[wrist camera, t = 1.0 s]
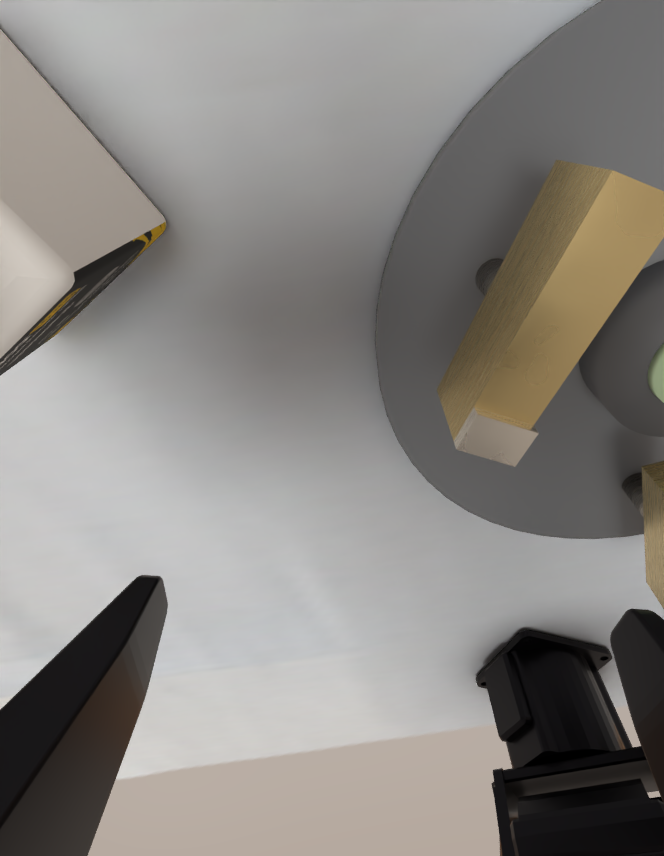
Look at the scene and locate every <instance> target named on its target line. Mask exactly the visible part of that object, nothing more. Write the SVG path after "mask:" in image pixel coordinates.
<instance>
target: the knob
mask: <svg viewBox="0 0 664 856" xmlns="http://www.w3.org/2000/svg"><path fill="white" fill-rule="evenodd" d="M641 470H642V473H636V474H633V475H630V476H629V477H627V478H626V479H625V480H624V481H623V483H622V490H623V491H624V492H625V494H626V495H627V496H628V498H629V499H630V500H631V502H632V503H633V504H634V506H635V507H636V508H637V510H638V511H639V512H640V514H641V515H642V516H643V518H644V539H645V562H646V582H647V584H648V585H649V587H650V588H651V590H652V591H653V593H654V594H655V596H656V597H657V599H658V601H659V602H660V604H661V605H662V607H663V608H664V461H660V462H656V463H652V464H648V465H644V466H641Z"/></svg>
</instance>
